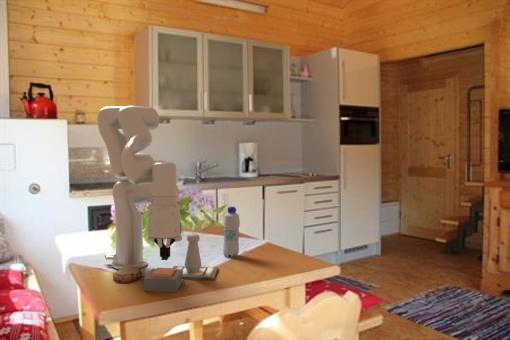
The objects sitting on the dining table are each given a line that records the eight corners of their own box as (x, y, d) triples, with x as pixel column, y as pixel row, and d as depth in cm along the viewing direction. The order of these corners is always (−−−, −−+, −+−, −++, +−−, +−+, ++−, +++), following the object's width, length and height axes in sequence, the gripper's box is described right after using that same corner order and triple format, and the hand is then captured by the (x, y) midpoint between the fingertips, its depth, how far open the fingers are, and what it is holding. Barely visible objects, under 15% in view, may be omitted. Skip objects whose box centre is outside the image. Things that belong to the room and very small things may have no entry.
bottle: (242, 255, 176) (243, 206, 174) (232, 259, 170) (233, 208, 168) (229, 252, 179) (229, 204, 178) (219, 256, 174) (219, 206, 172)
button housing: (143, 291, 134) (143, 278, 133) (152, 280, 144) (152, 268, 143) (176, 292, 133) (176, 279, 133) (182, 281, 143) (182, 269, 143)
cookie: (110, 284, 140) (110, 275, 139) (113, 274, 150) (113, 266, 150) (142, 283, 142) (142, 274, 142) (143, 273, 152) (143, 264, 152)
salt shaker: (197, 274, 148) (198, 236, 147) (182, 273, 149) (182, 235, 148) (203, 269, 153) (203, 233, 152) (188, 268, 154) (188, 232, 153)
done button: (152, 282, 135) (152, 273, 135) (157, 276, 141) (157, 267, 141) (171, 283, 135) (171, 273, 135) (175, 277, 141) (175, 268, 141)
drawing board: (166, 278, 145) (166, 275, 145) (174, 267, 157) (174, 265, 157) (213, 280, 145) (213, 277, 145) (218, 269, 157) (218, 266, 157)
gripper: (137, 202, 133) (138, 262, 134) (185, 203, 132) (186, 262, 133) (144, 199, 140) (145, 256, 141) (190, 200, 140) (190, 256, 141)
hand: (165, 259), depth 137 cm, fingers closed
